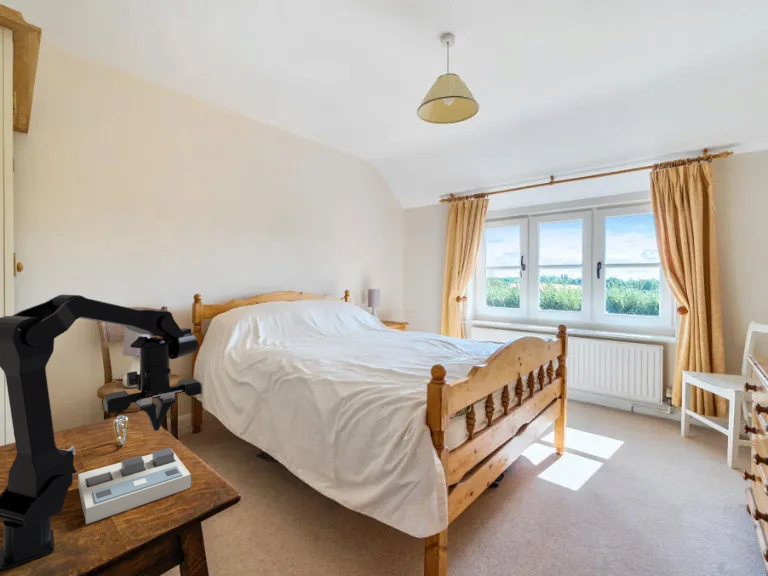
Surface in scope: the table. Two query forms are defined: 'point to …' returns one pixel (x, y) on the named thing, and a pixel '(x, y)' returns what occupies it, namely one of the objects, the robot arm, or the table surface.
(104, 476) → the button left
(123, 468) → the button middle
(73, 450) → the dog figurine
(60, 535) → the table surface
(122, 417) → the ring
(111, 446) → the table surface
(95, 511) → the button board
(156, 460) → the button right
